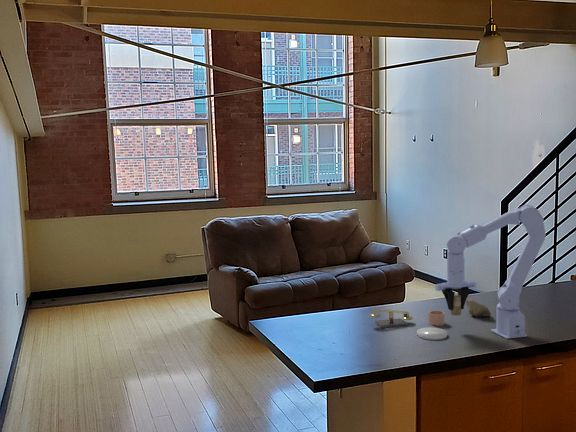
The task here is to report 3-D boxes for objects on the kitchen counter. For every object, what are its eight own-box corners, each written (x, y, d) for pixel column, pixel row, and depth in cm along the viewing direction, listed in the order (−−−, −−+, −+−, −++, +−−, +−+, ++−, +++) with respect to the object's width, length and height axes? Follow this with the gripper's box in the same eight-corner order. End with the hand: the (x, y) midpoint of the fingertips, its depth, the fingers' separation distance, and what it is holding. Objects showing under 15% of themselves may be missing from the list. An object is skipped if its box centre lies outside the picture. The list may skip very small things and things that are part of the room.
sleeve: (447, 324, 211) (447, 313, 211) (433, 326, 210) (433, 315, 210) (439, 320, 217) (439, 310, 216) (425, 322, 216) (425, 311, 215)
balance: (416, 324, 213) (416, 307, 212) (372, 328, 209) (372, 311, 208) (408, 320, 219) (408, 303, 218) (366, 324, 215) (366, 307, 214)
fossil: (488, 305, 215) (464, 295, 222) (482, 314, 214) (458, 304, 221) (493, 316, 221) (470, 306, 228) (487, 325, 220) (464, 315, 227)
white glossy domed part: (452, 338, 196) (452, 334, 196) (425, 341, 194) (425, 337, 194) (438, 329, 206) (438, 326, 206) (411, 332, 204) (411, 329, 204)
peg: (462, 314, 202) (462, 296, 202) (453, 315, 202) (453, 297, 201) (457, 312, 206) (457, 294, 205) (448, 313, 205) (448, 294, 204)
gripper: (468, 266, 208) (468, 304, 209) (431, 270, 204) (431, 308, 206) (479, 270, 201) (479, 309, 202) (440, 273, 197) (441, 313, 199)
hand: (455, 309), depth 203 cm, fingers closed on peg, 3 cm apart
